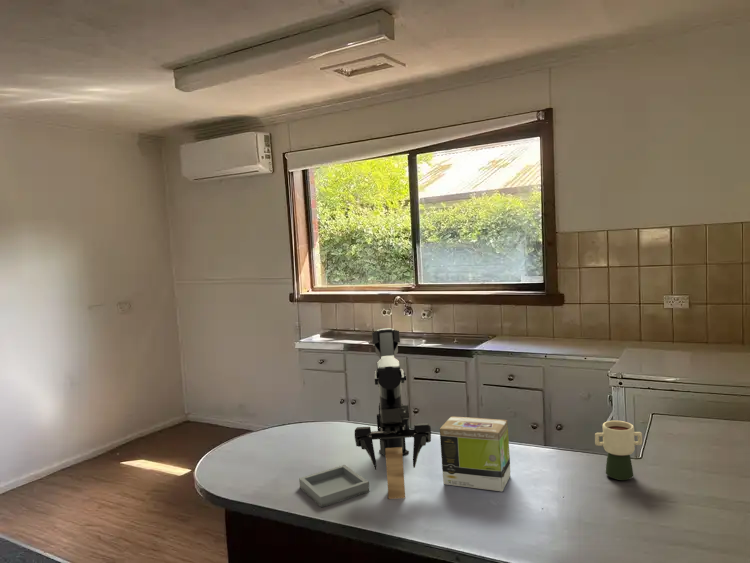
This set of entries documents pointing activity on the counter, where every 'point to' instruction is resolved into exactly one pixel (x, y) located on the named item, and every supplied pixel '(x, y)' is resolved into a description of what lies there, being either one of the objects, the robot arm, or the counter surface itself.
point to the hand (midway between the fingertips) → (394, 468)
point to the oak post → (395, 473)
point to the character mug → (618, 448)
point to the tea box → (475, 453)
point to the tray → (333, 485)
